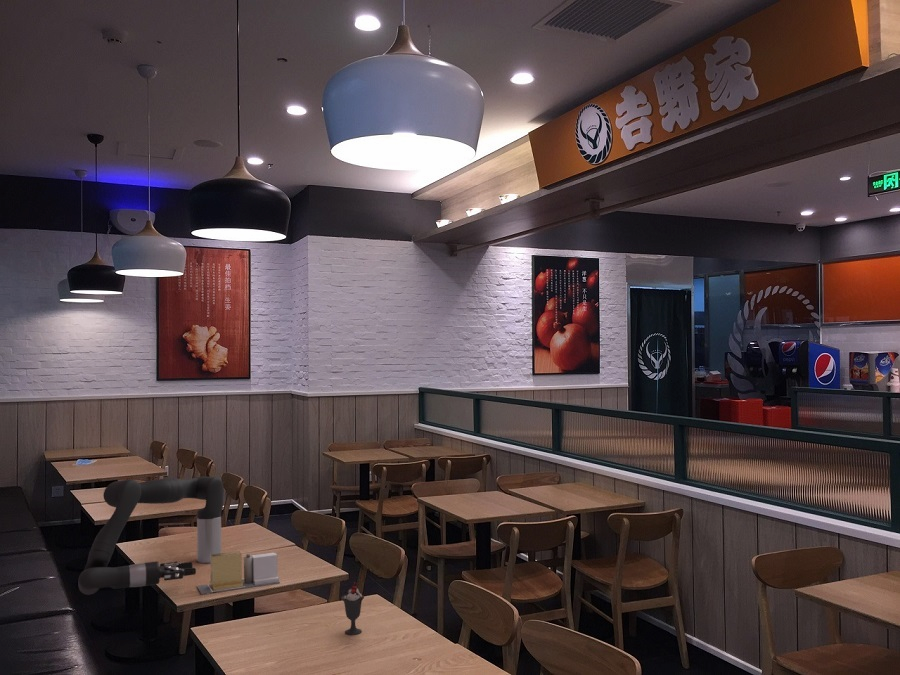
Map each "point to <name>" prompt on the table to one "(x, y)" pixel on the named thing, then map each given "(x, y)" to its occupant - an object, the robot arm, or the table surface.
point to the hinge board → (254, 572)
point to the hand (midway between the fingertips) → (193, 567)
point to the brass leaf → (226, 570)
